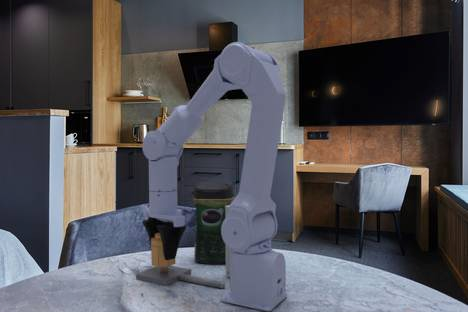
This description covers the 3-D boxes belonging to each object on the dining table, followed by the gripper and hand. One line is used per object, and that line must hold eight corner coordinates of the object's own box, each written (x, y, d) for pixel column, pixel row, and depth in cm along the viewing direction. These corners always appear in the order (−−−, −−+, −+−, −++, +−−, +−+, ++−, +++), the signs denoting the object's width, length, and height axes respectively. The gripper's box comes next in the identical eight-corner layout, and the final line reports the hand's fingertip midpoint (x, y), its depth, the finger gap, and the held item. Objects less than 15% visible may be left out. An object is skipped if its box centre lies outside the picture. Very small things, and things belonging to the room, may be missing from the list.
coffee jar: (237, 255, 97) (236, 180, 96) (232, 265, 89) (232, 183, 89) (198, 254, 98) (197, 180, 98) (190, 264, 90) (190, 183, 90)
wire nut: (180, 261, 82) (179, 232, 82) (163, 268, 79) (162, 237, 78) (164, 258, 85) (163, 229, 85) (147, 264, 81) (146, 234, 81)
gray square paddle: (235, 282, 78) (235, 259, 78) (213, 295, 71) (213, 271, 71) (161, 268, 87) (161, 248, 87) (136, 279, 80) (135, 257, 80)
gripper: (198, 192, 78) (198, 260, 78) (165, 186, 90) (165, 245, 90) (165, 195, 74) (166, 267, 74) (135, 188, 86) (136, 250, 86)
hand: (163, 255), depth 82 cm, fingers closed on wire nut, 5 cm apart
